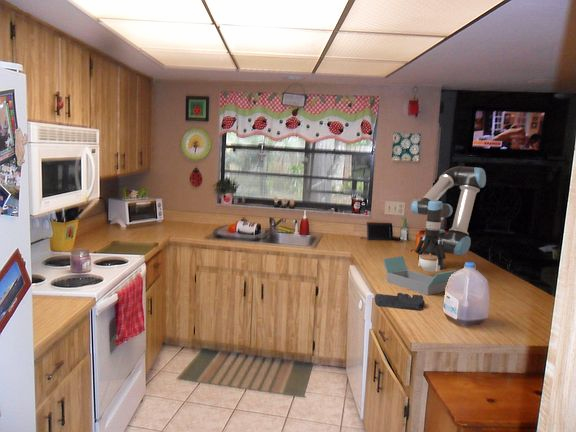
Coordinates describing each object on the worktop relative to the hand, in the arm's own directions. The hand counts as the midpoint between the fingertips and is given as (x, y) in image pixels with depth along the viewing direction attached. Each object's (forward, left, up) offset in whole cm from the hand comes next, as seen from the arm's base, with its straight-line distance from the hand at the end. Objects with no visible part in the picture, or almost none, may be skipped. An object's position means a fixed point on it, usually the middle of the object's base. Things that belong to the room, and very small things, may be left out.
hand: (428, 268), depth 258 cm
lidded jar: (0, 0, -1) cm, 1 cm away
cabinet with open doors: (+6, -18, -6) cm, 20 cm away
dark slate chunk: (+21, -49, -7) cm, 54 cm away
